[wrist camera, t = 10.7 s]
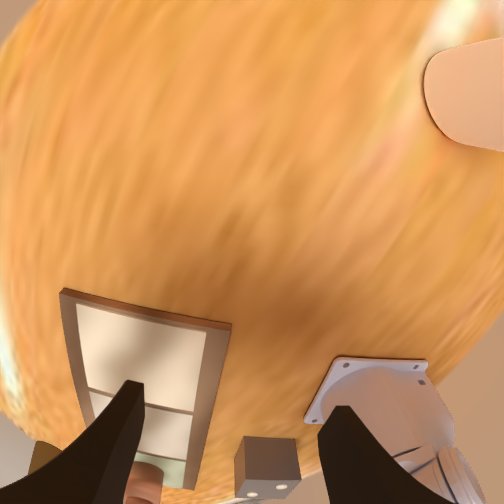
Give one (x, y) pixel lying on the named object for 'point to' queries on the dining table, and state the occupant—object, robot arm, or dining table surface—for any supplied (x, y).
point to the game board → (148, 374)
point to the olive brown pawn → (42, 455)
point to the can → (468, 93)
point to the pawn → (144, 484)
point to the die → (266, 468)
